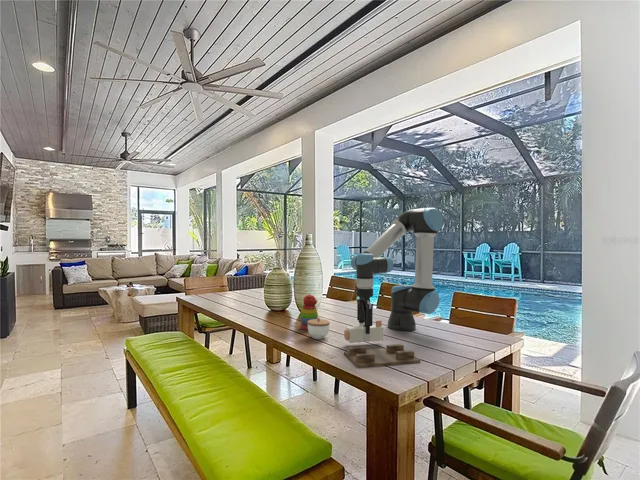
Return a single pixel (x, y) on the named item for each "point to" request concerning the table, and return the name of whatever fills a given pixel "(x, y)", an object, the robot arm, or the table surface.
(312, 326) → the lidded jar
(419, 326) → the table surface
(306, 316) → the stacking bear
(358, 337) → the block
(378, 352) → the cradle
